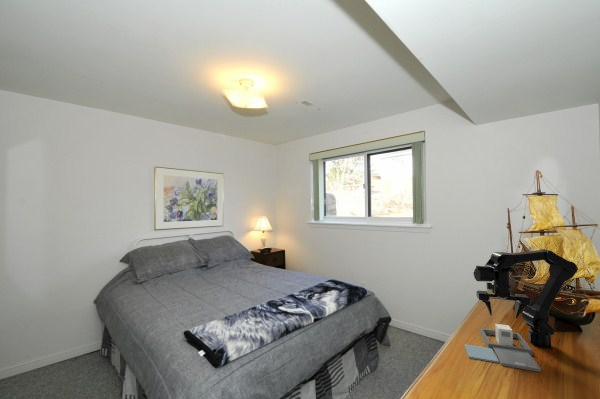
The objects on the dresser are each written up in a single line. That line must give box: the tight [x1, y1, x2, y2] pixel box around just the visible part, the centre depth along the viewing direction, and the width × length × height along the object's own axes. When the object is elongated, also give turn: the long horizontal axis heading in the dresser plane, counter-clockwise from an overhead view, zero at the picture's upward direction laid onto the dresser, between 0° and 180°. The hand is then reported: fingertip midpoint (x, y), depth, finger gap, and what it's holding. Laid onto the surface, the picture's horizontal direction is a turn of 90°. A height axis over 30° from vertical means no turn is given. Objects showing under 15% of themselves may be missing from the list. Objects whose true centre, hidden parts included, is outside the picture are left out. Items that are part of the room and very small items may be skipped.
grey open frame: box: [479, 327, 542, 373], centre depth 113 cm, size 15×27×2 cm, turn 157°
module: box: [494, 323, 514, 346], centre depth 118 cm, size 5×5×7 cm
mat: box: [463, 343, 500, 364], centre depth 110 cm, size 10×10×1 cm
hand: (503, 316), depth 119 cm, fingers open, 9 cm apart
